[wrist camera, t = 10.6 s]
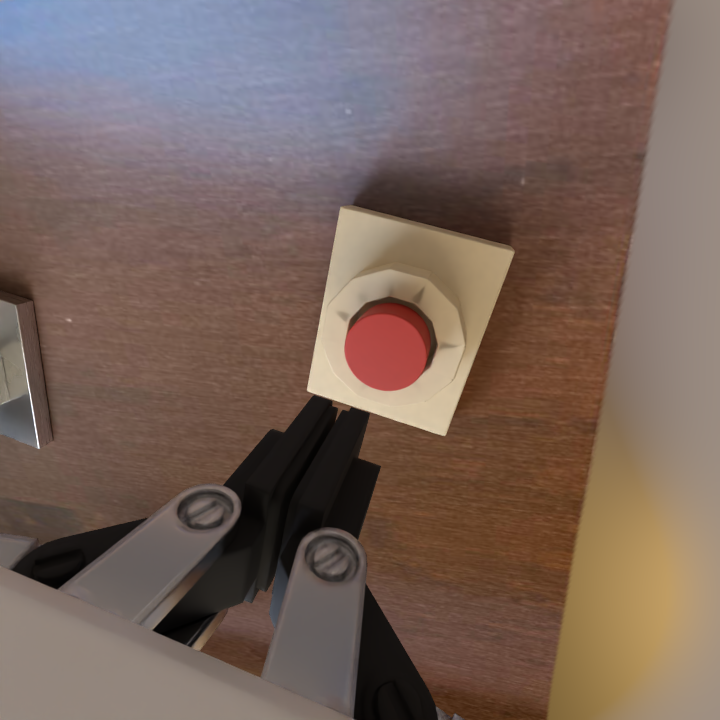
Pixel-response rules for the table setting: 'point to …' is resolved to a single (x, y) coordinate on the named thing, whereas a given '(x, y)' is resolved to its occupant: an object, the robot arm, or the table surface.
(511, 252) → the button box
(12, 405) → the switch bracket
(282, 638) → the robot arm
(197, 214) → the table surface
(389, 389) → the button
